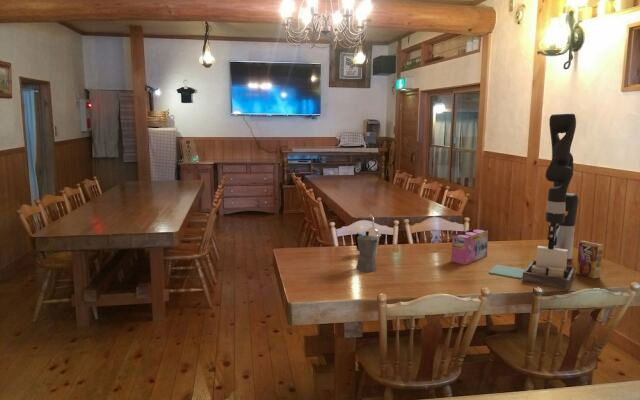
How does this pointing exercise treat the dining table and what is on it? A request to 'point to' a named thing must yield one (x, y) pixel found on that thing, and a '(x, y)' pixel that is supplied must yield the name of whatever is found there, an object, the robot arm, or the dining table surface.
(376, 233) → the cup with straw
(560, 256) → the white square slab
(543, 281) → the tray
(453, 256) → the pink multipack
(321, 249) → the dining table surface
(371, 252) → the coffeepot
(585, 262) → the candy box
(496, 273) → the teal mat
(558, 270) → the birch offcut
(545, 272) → the grey mdf offcut
